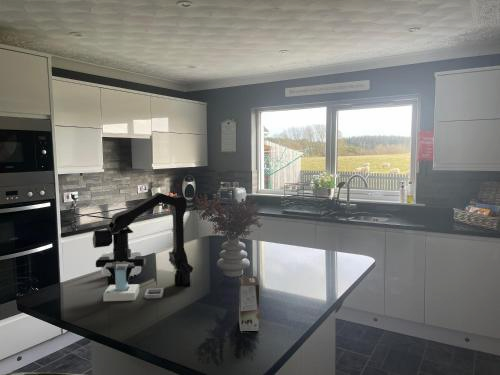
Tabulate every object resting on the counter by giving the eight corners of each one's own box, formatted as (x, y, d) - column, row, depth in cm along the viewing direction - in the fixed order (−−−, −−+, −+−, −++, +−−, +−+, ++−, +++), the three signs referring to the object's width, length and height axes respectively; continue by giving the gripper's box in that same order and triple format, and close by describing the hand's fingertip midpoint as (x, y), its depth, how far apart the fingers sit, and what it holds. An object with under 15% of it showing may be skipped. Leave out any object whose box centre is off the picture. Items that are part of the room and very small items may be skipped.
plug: (128, 286, 159) (127, 265, 158) (125, 289, 155) (125, 268, 154) (118, 286, 159) (117, 265, 158) (115, 290, 155) (115, 268, 154)
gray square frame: (163, 291, 163) (163, 288, 162) (161, 297, 156) (161, 294, 156) (147, 292, 162) (147, 288, 162) (144, 298, 155) (144, 294, 155)
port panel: (139, 291, 163) (139, 283, 163) (134, 300, 153) (134, 292, 153) (110, 291, 162) (109, 284, 162) (103, 301, 152) (103, 292, 152)
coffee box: (259, 332, 128) (259, 285, 126) (240, 332, 127) (240, 285, 125) (256, 319, 137) (257, 275, 135) (238, 320, 136) (238, 276, 135)
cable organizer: (112, 282, 174) (112, 257, 172) (101, 277, 181) (100, 252, 179) (141, 274, 185) (141, 250, 184) (129, 269, 192) (129, 247, 191)
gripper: (147, 239, 164) (148, 275, 166) (102, 240, 162) (103, 276, 164) (143, 246, 153) (143, 284, 155) (94, 246, 151) (95, 285, 153)
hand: (121, 282), depth 157 cm, fingers closed on plug, 4 cm apart
